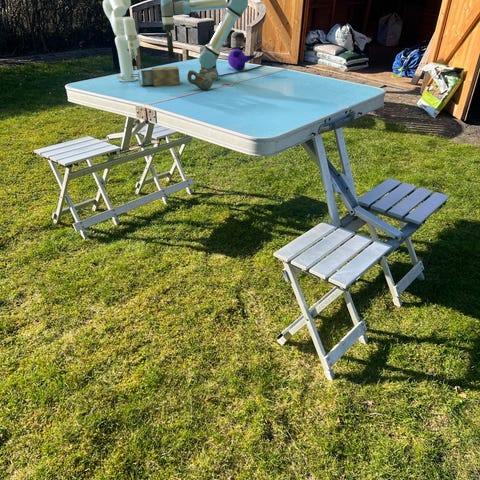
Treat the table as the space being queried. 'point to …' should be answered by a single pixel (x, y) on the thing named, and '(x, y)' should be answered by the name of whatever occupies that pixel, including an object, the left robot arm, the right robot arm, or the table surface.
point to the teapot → (202, 78)
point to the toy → (238, 59)
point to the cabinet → (166, 76)
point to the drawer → (144, 77)
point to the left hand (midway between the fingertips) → (134, 66)
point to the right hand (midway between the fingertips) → (171, 56)
